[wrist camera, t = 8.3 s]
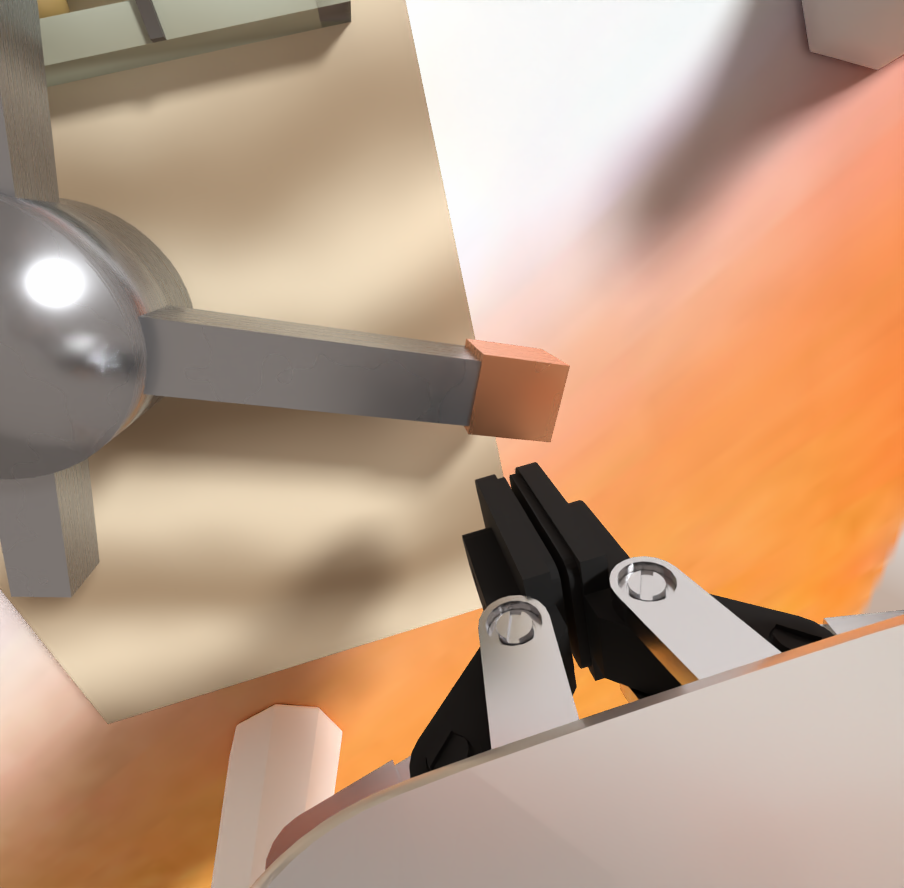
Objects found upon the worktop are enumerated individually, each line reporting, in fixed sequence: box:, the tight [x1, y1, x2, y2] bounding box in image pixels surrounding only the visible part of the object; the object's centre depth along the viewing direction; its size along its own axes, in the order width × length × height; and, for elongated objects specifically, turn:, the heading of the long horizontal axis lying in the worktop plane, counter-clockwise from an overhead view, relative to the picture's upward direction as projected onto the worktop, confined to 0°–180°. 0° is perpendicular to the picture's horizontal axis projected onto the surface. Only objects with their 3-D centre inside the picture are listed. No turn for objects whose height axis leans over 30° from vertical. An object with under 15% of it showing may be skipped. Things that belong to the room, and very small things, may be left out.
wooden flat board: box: [0, 0, 503, 724], centre depth 16 cm, size 24×18×3 cm
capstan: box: [0, 0, 570, 597], centre depth 12 cm, size 20×14×4 cm
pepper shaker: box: [211, 704, 342, 888], centre depth 19 cm, size 5×5×11 cm
